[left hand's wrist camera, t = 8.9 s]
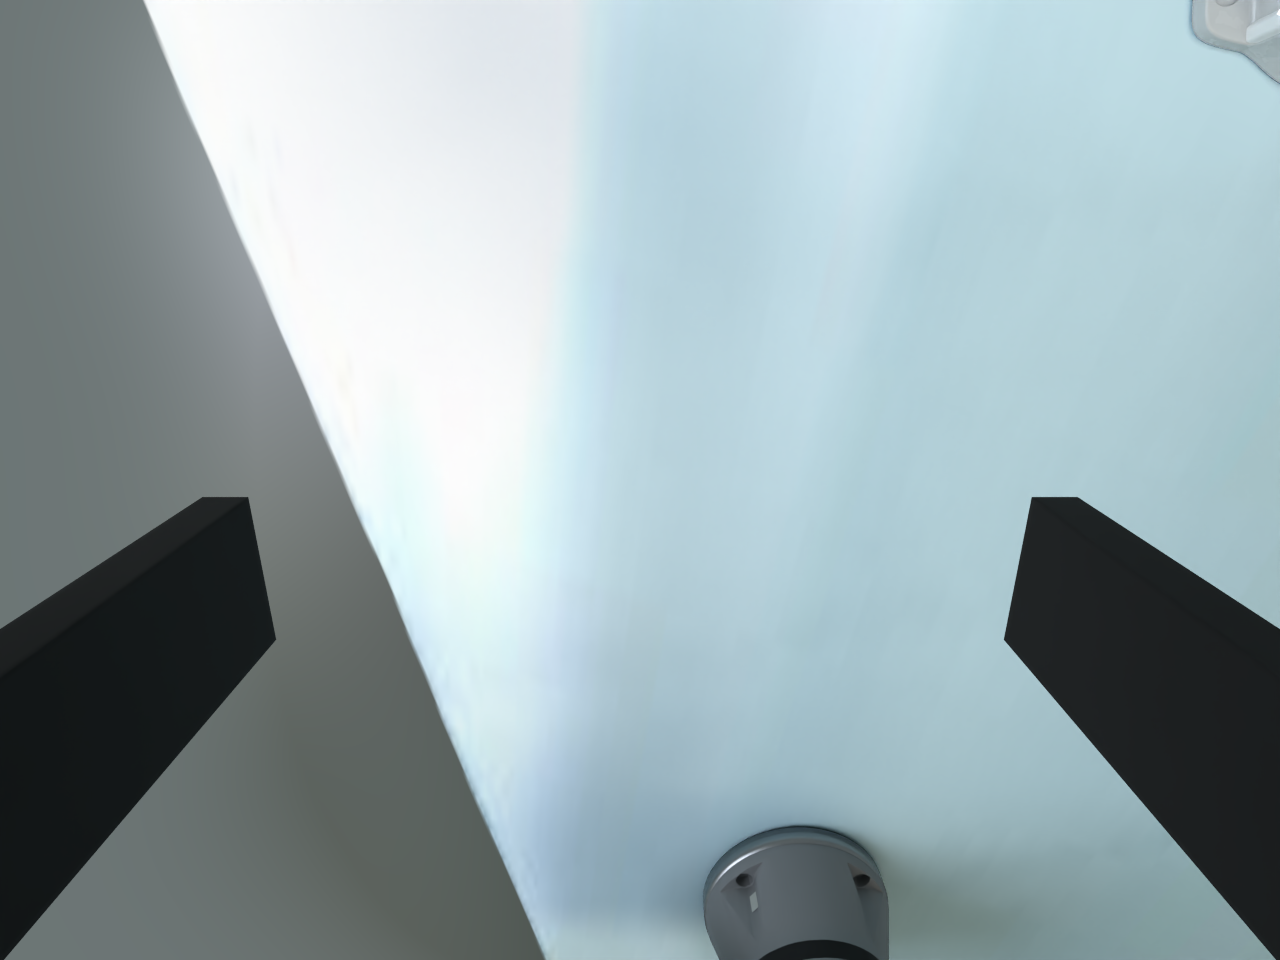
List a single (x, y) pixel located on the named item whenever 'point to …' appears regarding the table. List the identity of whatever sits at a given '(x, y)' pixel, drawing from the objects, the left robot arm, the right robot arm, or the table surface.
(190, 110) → the table surface
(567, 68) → the table surface
